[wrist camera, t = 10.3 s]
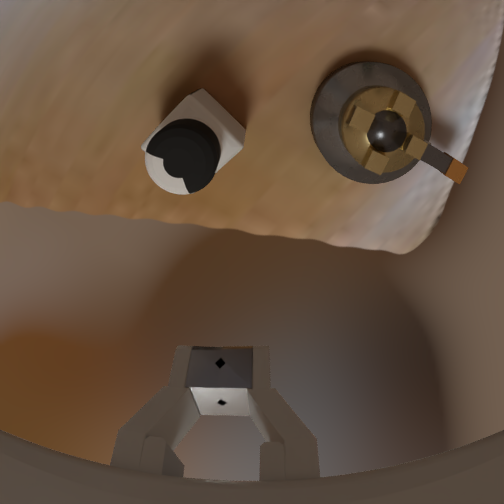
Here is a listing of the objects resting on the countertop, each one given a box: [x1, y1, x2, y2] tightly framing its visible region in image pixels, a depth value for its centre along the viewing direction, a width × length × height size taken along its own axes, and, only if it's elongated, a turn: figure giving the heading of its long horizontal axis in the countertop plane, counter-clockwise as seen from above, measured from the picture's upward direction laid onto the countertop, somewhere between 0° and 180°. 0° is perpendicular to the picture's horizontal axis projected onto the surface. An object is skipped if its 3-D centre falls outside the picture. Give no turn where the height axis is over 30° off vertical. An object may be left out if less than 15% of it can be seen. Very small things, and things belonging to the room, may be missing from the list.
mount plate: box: [310, 62, 432, 184], centre depth 31 cm, size 14×14×3 cm
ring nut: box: [338, 85, 468, 184], centre depth 29 cm, size 16×9×4 cm, turn 71°
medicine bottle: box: [141, 88, 246, 194], centre depth 29 cm, size 7×7×12 cm
